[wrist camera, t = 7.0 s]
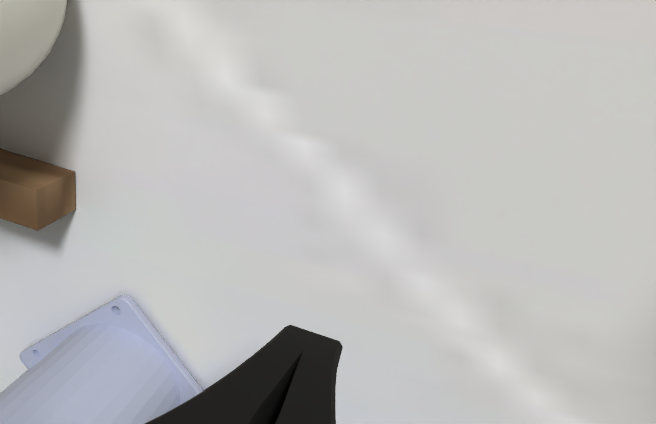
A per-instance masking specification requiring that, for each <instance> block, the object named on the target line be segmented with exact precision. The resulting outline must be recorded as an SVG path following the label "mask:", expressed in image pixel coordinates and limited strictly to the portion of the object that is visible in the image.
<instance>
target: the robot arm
mask: <svg viewBox="0 0 656 424" xmlns="http://www.w3.org/2000/svg"><path fill="white" fill-rule="evenodd" d="M117 307H118V308H119V309H120V310H119V309H118V308H117ZM341 351H342V345H341V343H340V342H339V341H337V340H334V339H331V338H328V337H325V336H322V335H319V334H316V333H313V332H310V331H307V330H304V329H301V328H298V327H295V326H292V325H289V326H287V327H285V328H284V329H283V330H282V331H281V332H279V333H278V334H277V335H276V336H275V337H274V338H273V339H272V340H271V341H270V342H268V343H267V344H266V345H265V346H264V347H263V348H261V349H260V350H259V351H258V352H256V353H255V354H254V355H253V356H252V357H250V358H249V359H248V360H246V361H245V362H244V363H242V364H241V365H240V366H238V367H237V368H236V369H234V370H233V371H232V372H230V373H229V374H228V375H226V376H225V377H223V378H222V379H220V380H219V381H217V382H216V383H214V384H213V385H211V386H210V387H208V388H207V389H205V390H204V391H203V390H202V389H201V387H200V386H199V385H198V384H197V382H196V381H195V380H194V378H193V377H192V376H191V374H190V373H189V372H188V371H187V369H186V368H185V367H184V365H183V364H182V363H181V362H180V360H179V359H178V358H177V356H176V355H175V354H174V352H173V351H172V350H171V349H170V347H169V346H168V345H167V343H166V342H165V341H164V340H163V338H162V337H161V336H160V334H159V333H158V332H157V330H156V329H155V328H154V327H153V325H152V324H151V323H150V321H149V320H148V319H147V318H146V316H145V315H144V314H143V312H142V311H141V310H140V308H139V307H138V306H137V305H136V303H135V302H134V301H133V299H132V298H130V297H129V296H127V295H121V296H119V297H117V298H115V299H113V300H112V301H110V302H108V303H106V304H105V305H103V306H101V307H99V308H97V309H96V310H94V311H92V312H90V313H89V314H87V315H85V316H83V317H81V318H80V319H78V320H76V321H74V322H72V323H71V324H69V325H67V326H65V327H64V328H62V329H60V330H58V331H56V332H55V333H53V334H51V335H49V336H48V337H46V338H44V339H42V340H40V341H39V342H37V343H35V344H33V345H31V346H30V347H28V348H26V349H25V350H23V351H22V352H21V353H20V360H21V361H22V362H23V364H24V365H25V366H26V367H27V368H28V370H27V371H26V372H25V373H24V374H22V375H21V376H20V377H19V378H18V379H16V380H15V381H14V382H13V383H12V384H11V385H9V386H8V387H7V388H6V389H5V390H4V391H2V392H1V393H0V424H336V420H335V385H336V373H337V367H338V363H339V359H340V355H341Z"/></svg>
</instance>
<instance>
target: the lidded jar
mask: <svg viewBox="0 0 656 424" xmlns="http://www.w3.org/2000/svg"><path fill="white" fill-rule="evenodd" d="M66 6H67V0H0V95H2V94H4V93H6V92H7V91H9V90H10V89H12V88H14V87H15V86H17V85H19V84H20V83H21V82H22V81H23V80H25V79H26V78H27V77H28V76H30V75H31V74H32V73H33V72H34V71H35V70H36V69H37V68H38V67H39V66H40V64H41V63H42V62H43V61H44V59H45V58H46V57H47V56H48V54H49V53H50V51H51V49H52V47H53V45H54V43H55V41H56V39H57V37H58V35H59V33H60V31H61V27H62V24H63V21H64V18H65V13H66Z"/></svg>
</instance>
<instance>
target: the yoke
mask: <svg viewBox="0 0 656 424" xmlns="http://www.w3.org/2000/svg"><path fill="white" fill-rule="evenodd" d="M74 210H76V192H75V172H74V171H71V170H67V169H64V168H61V167H58V166H54V165H51V164H48V163H45V162H41V161H38V160H35V159H32V158H28V157H25V156H22V155H19V154H15V153H12V152H9V151H6V150H2V149H0V218H1V219H4V220H7V221H10V222H13V223H16V224H19V225H22V226H25V227H28V228H32V229H35V230H40V229H42V228H44V227H45V226H47V225H49V224H51V223H53V222H54V221H56V220H58V219H60V218H61V217H63V216H65V215H67V214H68V213H70V212H72V211H74Z"/></svg>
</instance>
